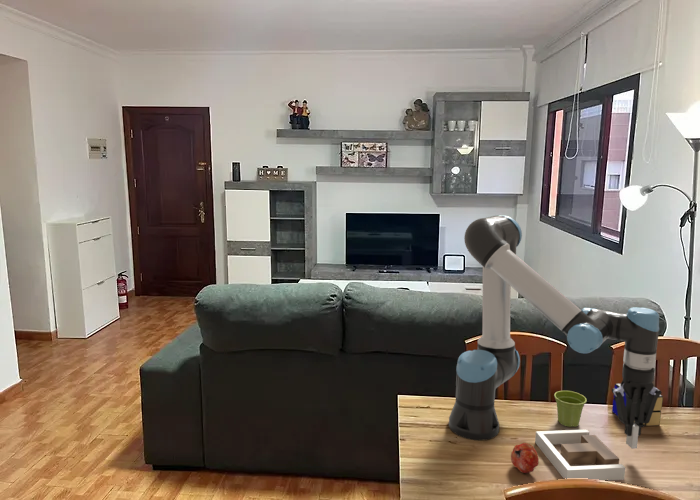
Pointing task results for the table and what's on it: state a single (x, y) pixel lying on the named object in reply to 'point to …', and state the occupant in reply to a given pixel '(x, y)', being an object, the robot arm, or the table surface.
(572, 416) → the plant pot
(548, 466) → the table surface
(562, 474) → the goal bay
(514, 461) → the pomegranate
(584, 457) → the T block
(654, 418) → the puzzle cube
